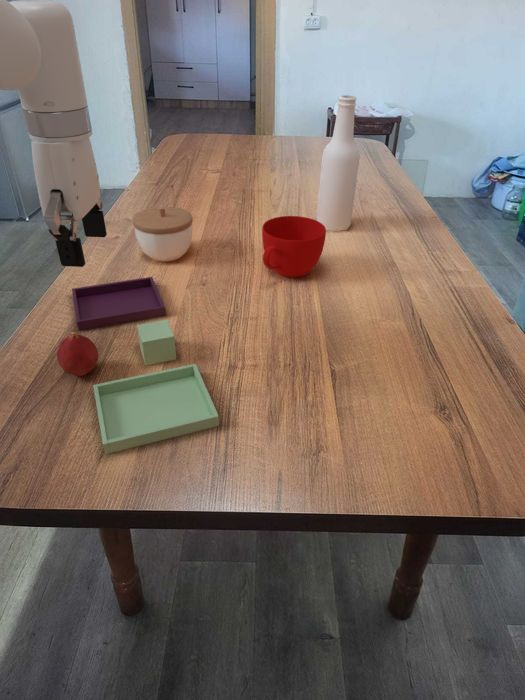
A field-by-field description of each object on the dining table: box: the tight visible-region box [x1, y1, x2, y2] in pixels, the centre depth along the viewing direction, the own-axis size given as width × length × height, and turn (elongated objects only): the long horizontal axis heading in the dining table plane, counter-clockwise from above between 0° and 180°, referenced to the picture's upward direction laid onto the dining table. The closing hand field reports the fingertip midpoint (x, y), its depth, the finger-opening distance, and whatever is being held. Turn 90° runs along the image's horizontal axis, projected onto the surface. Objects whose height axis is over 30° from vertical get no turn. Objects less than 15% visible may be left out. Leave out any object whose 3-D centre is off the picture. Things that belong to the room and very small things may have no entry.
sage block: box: [136, 319, 177, 366], centre depth 79 cm, size 5×5×5 cm
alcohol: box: [315, 94, 360, 232], centre depth 117 cm, size 9×9×30 cm
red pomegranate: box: [56, 331, 99, 377], centre depth 74 cm, size 6×6×8 cm
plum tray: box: [71, 276, 167, 332], centre depth 91 cm, size 15×12×2 cm
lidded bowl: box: [132, 206, 194, 263], centre depth 107 cm, size 13×13×11 cm
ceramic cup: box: [261, 215, 327, 279], centre depth 101 cm, size 13×17×10 cm
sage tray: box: [92, 363, 220, 455], centre depth 69 cm, size 15×12×2 cm
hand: (85, 250), depth 71 cm, fingers open, 9 cm apart
